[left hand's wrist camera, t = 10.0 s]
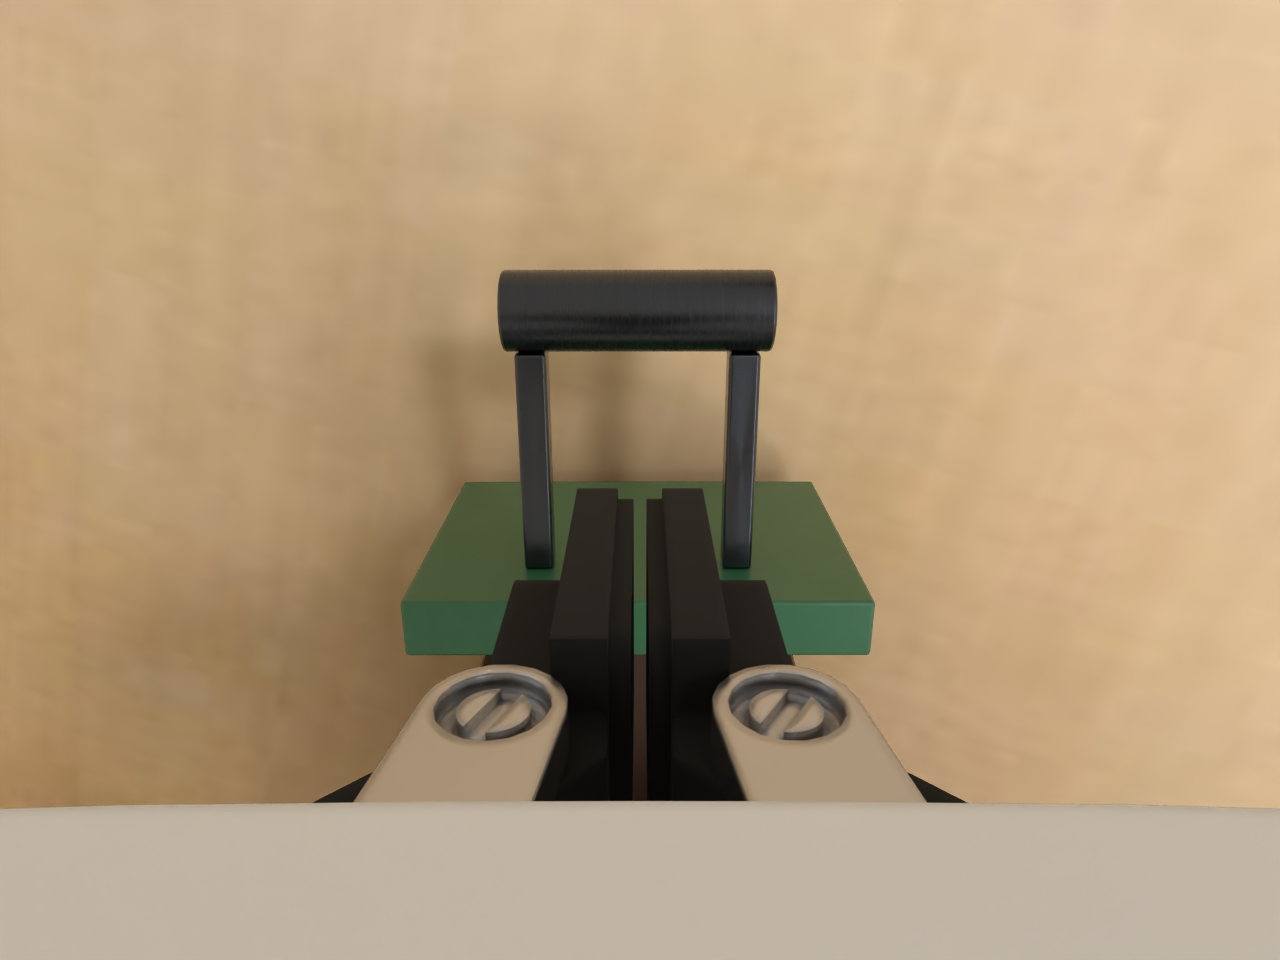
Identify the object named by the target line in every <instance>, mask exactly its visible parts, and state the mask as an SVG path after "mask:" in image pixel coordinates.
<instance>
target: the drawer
mask: <svg viewBox="0 0 1280 960" xmlns="http://www.w3.org/2000/svg"><path fill="white" fill-rule="evenodd" d="M497 309H498V326H499V335H500V340H501V344H502V347H503V349H504V350H505V351H517V353H516V354H515V377H516V397H517V417H518V437H519V457H520V477H521V482H466V483H465V484H464V486H463V488H462V490H461V492H460V494H459V495H458V497H457V499H456V501H455V503H454V505H453V507H452V509H451V510H450V512H449V514H448V516H447V518H446V520H445V522H444V523H443V525H442V527H441V529H440V531H439V533H438V535H437V537H436V538H435V540H434V542H433V544H432V546H431V548H430V550H429V551H428V553H427V555H426V557H425V559H424V561H423V563H422V565H421V566H420V568H419V570H418V572H417V574H416V576H415V578H414V579H413V581H412V583H411V585H410V587H409V589H408V591H407V593H406V594H405V596H404V598H403V600H402V602H401V611H402V621H403V630H404V640H405V649H406V653H407V654H408V655H484V657H483V660H482V663H481V666H480V667H483V666H489V664H490V661H491V657H492V654H493V650H494V647H495V644H496V640H497V637H498V633H499V630H500V627H501V623H502V620H503V617H504V613H505V610H506V606H507V603H508V600H509V596H510V593H511V589H512V586H513V583H514V581H515V580H560V578H561V573H562V567H563V562H564V557H565V551H566V546H567V541H568V535H569V530H570V525H571V519H572V514H573V509H574V503H575V498H576V493H577V489H578V488H618V499H634V744H633V801H647V744H646V499H662V488H702V489H703V493H704V498H705V503H706V509H707V514H708V519H709V525H710V530H711V535H712V541H713V546H714V551H715V557H716V562H717V567H718V573H719V578H720V580H765V581H766V583H767V586H768V589H769V593H770V596H771V600H772V603H773V606H774V610H775V613H776V617H777V620H778V623H779V627H780V630H781V633H782V637H783V640H784V644H785V647H786V650H787V654H788V657H789V661H790V664H791V666H796V665H795V662H794V658H793V655H867V654H869V652H870V647H871V637H872V627H873V617H874V607H875V603H874V600H873V599H872V597H871V595H870V593H869V591H868V589H867V587H866V585H865V583H864V581H863V579H862V578H861V576H860V574H859V572H858V570H857V568H856V566H855V564H854V562H853V560H852V559H851V557H850V555H849V553H848V551H847V549H846V547H845V545H844V543H843V541H842V539H841V538H840V536H839V534H838V532H837V530H836V528H835V526H834V524H833V522H832V520H831V519H830V517H829V515H828V513H827V511H826V509H825V507H824V505H823V503H822V501H821V499H820V498H819V496H818V494H817V492H816V490H815V488H814V486H813V484H812V483H811V482H755V468H756V446H757V425H758V403H759V382H760V360H761V356H760V354H759V352H758V351H770V350H771V349H772V347H773V344H774V340H775V334H776V325H777V285H776V278H775V275H774V272H773V271H771V270H504V271H502V272H501V275H500V278H499V284H498V299H497ZM548 351H727V369H726V399H725V429H724V459H723V482H553V469H552V442H551V414H550V387H549V360H548Z"/></svg>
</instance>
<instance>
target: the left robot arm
mask: <svg viewBox="0 0 1280 960" xmlns="http://www.w3.org/2000/svg"><path fill="white" fill-rule="evenodd" d="M633 744H634V499H618V488H578V489H577V493H576V498H575V503H574V509H573V514H572V519H571V525H570V530H569V535H568V541H567V546H566V551H565V557H564V562H563V567H562V573H561V578H560V580H515V581H514V583H513V586H512V589H511V593H510V596H509V600H508V603H507V606H506V610H505V613H504V617H503V620H502V623H501V627H500V630H499V633H498V637H497V640H496V644H495V647H494V650H493V654H492V657H491V661H490V664H489V666H483V667H477V668H471V669H468V670H465V671H462V672H460V673H457V674H454V675H451V676H449V677H448V678H446V679H444V680H443V681H441V682H439V683H438V684H436V685H434V686H433V687H432V688H431V689H430V690H429V691H428V692H427V694H426V695H425V696H424V697H423V698H422V699H421V701H420V702H419V704H418V705H417V707H416V708H415V710H414V711H413V713H412V714H411V716H410V717H409V719H408V720H407V722H406V723H405V725H404V726H403V728H402V729H401V731H400V732H399V734H398V735H397V737H396V738H395V740H394V741H393V743H392V744H391V746H390V747H389V749H388V750H387V752H386V753H385V755H384V756H383V758H382V760H381V761H380V763H379V764H378V766H377V767H376V769H375V770H374V772H372V773H370V774H368V775H366V776H364V777H362V778H360V779H358V780H356V781H354V782H352V783H351V784H349V785H347V786H345V787H343V788H341V789H339V790H337V791H335V792H333V793H331V794H329V795H327V796H325V797H323V798H321V799H319V800H317V801H315V802H313V803H272V804H180V805H110V806H78V807H46V808H15V809H0V960H1280V809H1271V808H1234V807H1197V806H1160V805H1124V804H1012V803H967V802H965V801H963V800H961V799H959V798H957V797H955V796H953V795H951V794H949V793H947V792H945V791H943V790H941V789H939V788H937V787H935V786H933V785H931V784H929V783H928V782H926V781H924V780H922V779H920V778H918V777H916V776H914V775H912V774H910V773H908V772H906V770H905V769H904V767H903V766H902V764H901V763H900V761H899V760H898V758H897V756H896V755H895V753H894V752H893V750H892V749H891V747H890V746H889V744H888V743H887V741H886V740H885V738H884V737H883V735H882V734H881V732H880V731H879V729H878V728H877V726H876V725H875V723H874V722H873V720H872V719H871V717H870V716H869V714H868V713H867V711H866V710H865V708H864V707H863V705H862V704H861V702H860V701H859V699H858V698H857V697H856V696H855V695H854V694H853V692H852V691H851V690H850V689H849V688H848V687H847V686H846V685H844V684H842V683H841V682H839V681H837V680H836V679H834V678H832V677H831V676H829V675H826V674H823V673H820V672H818V671H815V670H812V669H809V668H803V667H797V666H791V664H790V661H789V657H788V654H787V650H786V647H785V644H784V640H783V637H782V633H781V630H780V627H779V623H778V620H777V617H776V613H775V610H774V606H773V603H772V600H771V596H770V593H769V589H768V586H767V583H766V581H765V580H720V578H719V573H718V567H717V562H716V557H715V551H714V546H713V541H712V535H711V530H710V525H709V519H708V514H707V509H706V503H705V498H704V493H703V489H702V488H662V499H646V744H647V801H633Z"/></svg>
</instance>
